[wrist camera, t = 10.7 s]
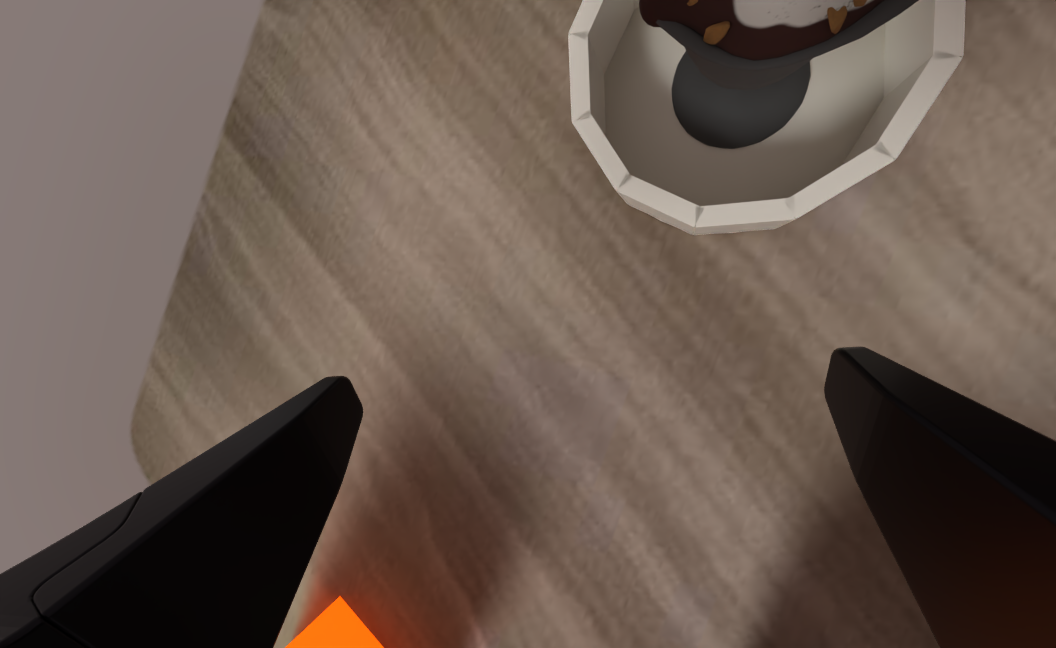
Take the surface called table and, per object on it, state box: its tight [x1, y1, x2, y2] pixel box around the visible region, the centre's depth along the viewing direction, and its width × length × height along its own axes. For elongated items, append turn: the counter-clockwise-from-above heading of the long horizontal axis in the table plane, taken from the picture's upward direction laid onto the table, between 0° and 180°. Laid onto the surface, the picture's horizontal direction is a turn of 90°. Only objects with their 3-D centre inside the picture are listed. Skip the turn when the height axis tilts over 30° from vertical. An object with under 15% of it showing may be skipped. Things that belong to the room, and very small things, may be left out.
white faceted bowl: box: [568, 0, 966, 235], centre depth 16 cm, size 11×11×4 cm
